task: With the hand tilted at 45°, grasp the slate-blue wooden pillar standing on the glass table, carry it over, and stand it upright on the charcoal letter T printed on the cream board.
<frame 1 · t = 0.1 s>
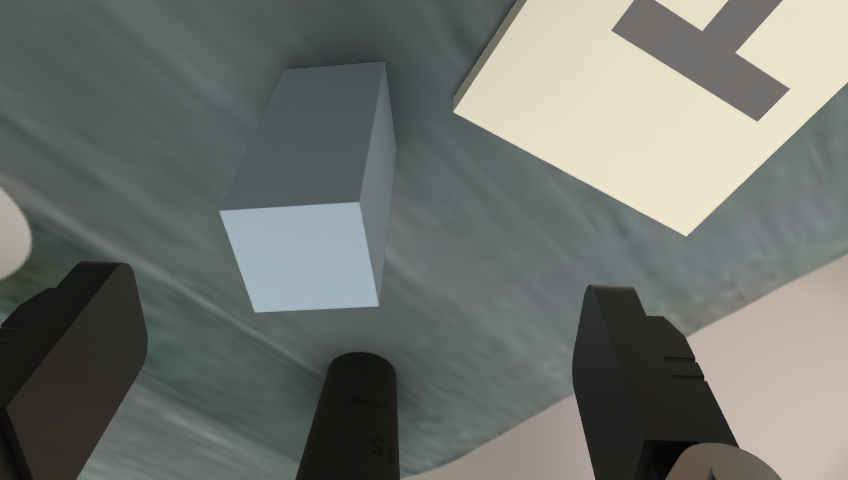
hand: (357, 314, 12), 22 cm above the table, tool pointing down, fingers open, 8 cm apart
drinking cup: (362, 373, 47), on the table
slate pillar: (342, 111, 34), on the table
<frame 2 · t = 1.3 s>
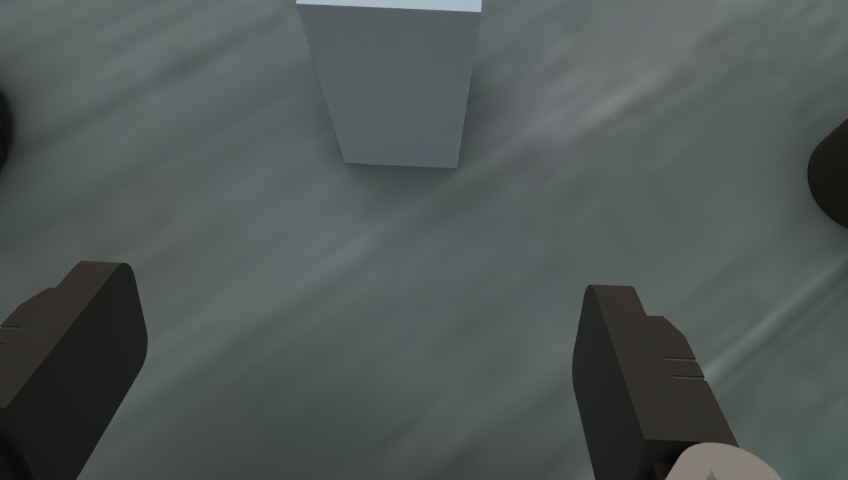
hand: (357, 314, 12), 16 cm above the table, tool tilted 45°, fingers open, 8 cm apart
slate pillar: (404, 114, 30), on the table
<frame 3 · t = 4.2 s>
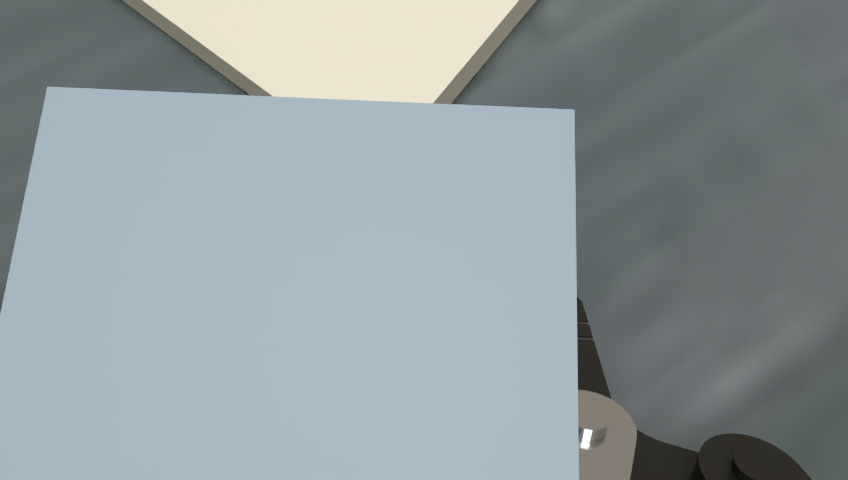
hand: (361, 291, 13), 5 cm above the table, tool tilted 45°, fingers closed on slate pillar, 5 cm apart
slate pillar: (376, 398, 17), on the table, touching gripper
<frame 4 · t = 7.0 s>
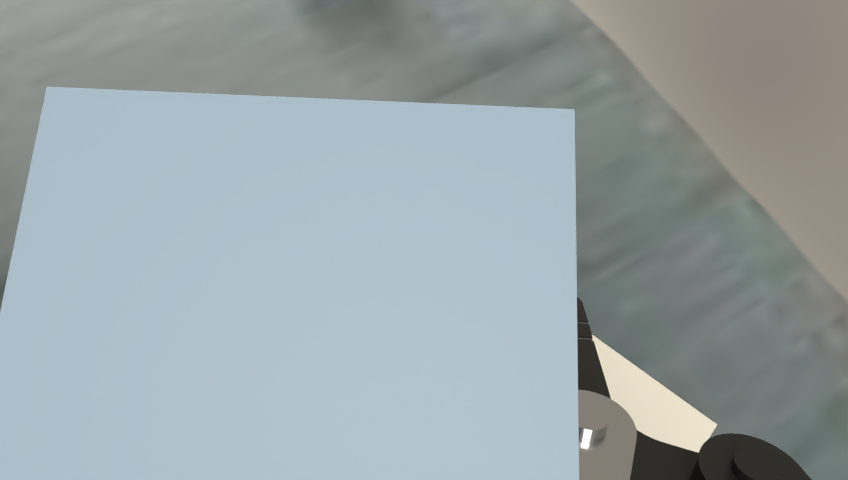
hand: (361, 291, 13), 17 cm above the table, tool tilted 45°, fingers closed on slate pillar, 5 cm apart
letter board: (398, 416, 28), on the table
slate pillar: (376, 398, 17), point 12 cm above the table, touching gripper
when the fingers open (8 cm above the table, at t = 9.7 s): slate pillar drops 1 cm, resting on letter board.
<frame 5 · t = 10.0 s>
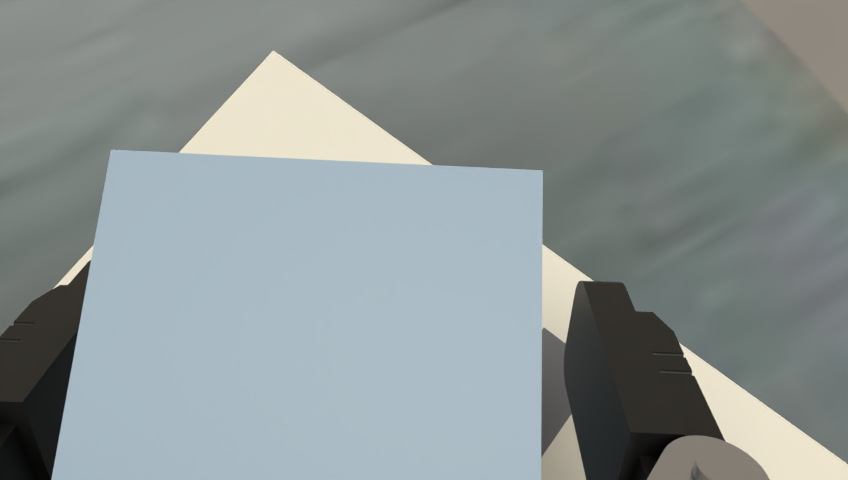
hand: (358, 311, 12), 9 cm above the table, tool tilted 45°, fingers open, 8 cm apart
letter board: (387, 449, 20), on the table
slate pillar: (377, 401, 19), point 2 cm above the table, touching letter board
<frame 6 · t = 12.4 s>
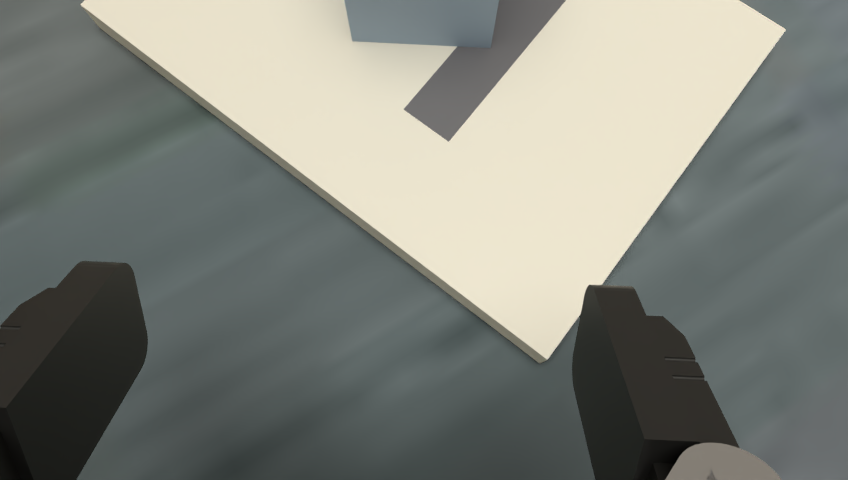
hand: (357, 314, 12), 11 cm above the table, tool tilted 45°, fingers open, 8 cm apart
letter board: (430, 39, 26), on the table
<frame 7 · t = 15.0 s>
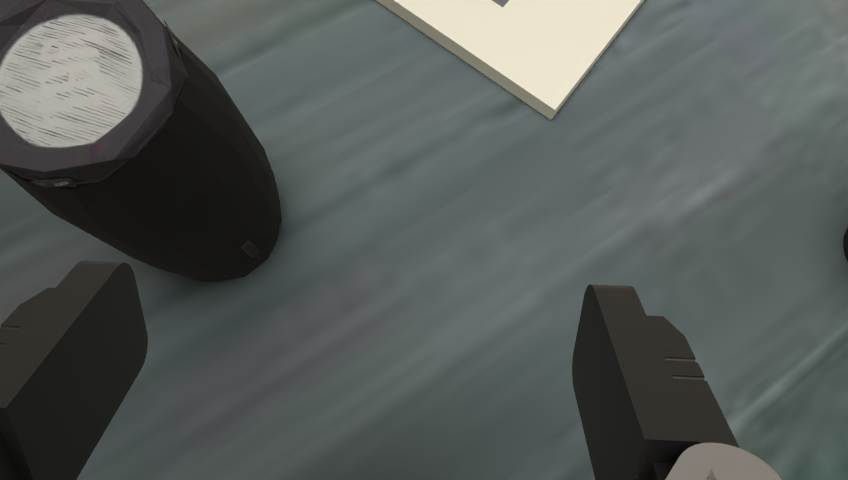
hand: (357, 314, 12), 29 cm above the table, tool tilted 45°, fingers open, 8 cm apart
portable speaker: (222, 223, 42), on the table
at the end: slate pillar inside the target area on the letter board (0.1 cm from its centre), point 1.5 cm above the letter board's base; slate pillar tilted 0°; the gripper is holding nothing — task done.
